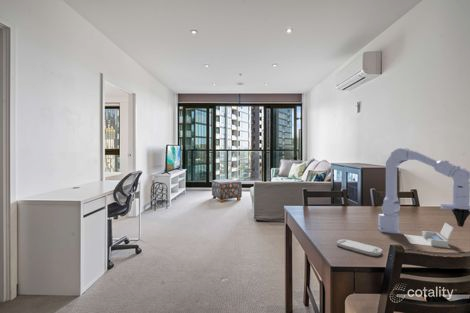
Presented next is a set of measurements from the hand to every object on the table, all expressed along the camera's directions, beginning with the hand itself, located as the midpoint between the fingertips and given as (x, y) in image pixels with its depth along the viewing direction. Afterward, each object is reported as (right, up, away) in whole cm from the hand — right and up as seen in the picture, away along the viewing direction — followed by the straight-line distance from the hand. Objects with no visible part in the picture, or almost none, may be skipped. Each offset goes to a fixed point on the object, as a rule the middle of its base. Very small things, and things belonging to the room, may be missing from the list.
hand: (460, 226), depth 121 cm
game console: (-47, -9, -4) cm, 49 cm away
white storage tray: (-11, -9, +6) cm, 16 cm away
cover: (-5, -3, +2) cm, 6 cm away
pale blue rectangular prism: (-8, -9, +4) cm, 12 cm away
